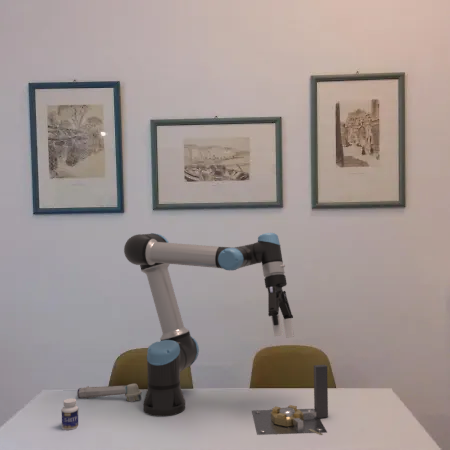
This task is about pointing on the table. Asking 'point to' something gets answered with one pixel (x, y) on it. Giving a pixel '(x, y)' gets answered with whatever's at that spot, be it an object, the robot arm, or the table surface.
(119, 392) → the grey elongated piece
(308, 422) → the flange
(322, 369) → the grey and tan piece
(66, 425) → the pill bottle
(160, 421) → the table surface
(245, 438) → the table surface
